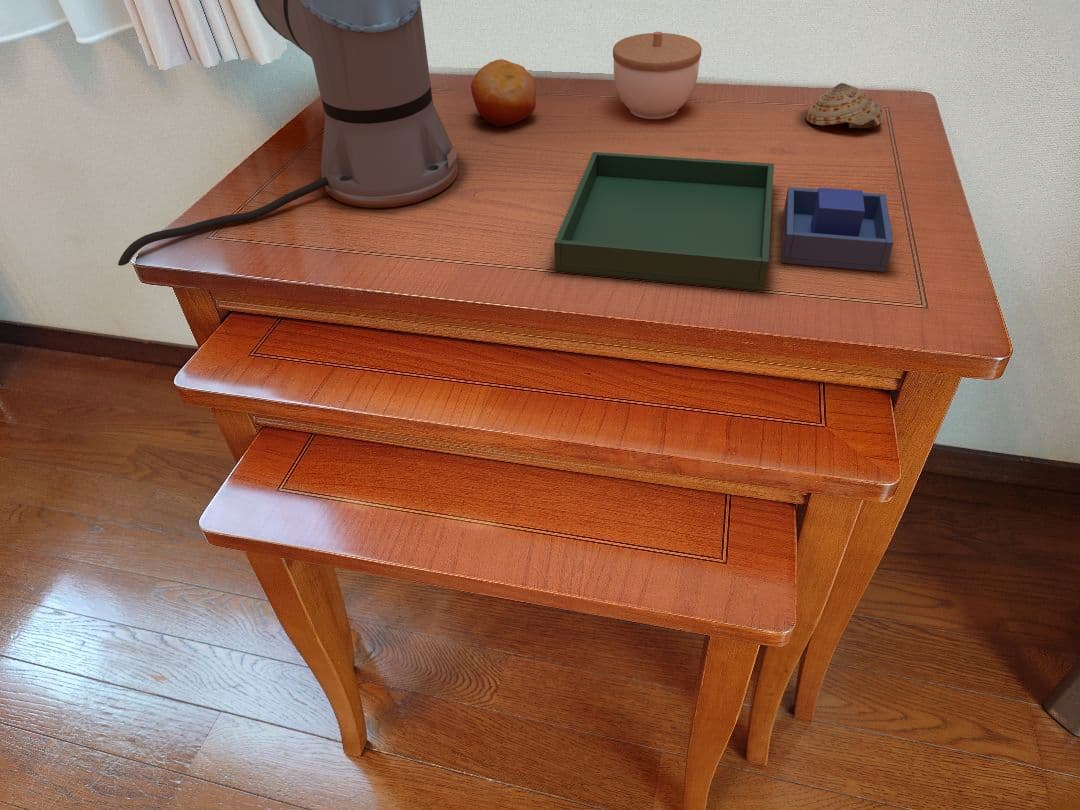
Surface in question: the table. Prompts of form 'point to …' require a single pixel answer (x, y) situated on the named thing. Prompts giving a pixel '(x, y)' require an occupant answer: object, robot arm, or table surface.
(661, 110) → the trinket box
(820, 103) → the seashell
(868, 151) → the table surface
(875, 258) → the blue tray
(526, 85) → the fruit
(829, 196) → the blue block
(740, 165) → the green tray
